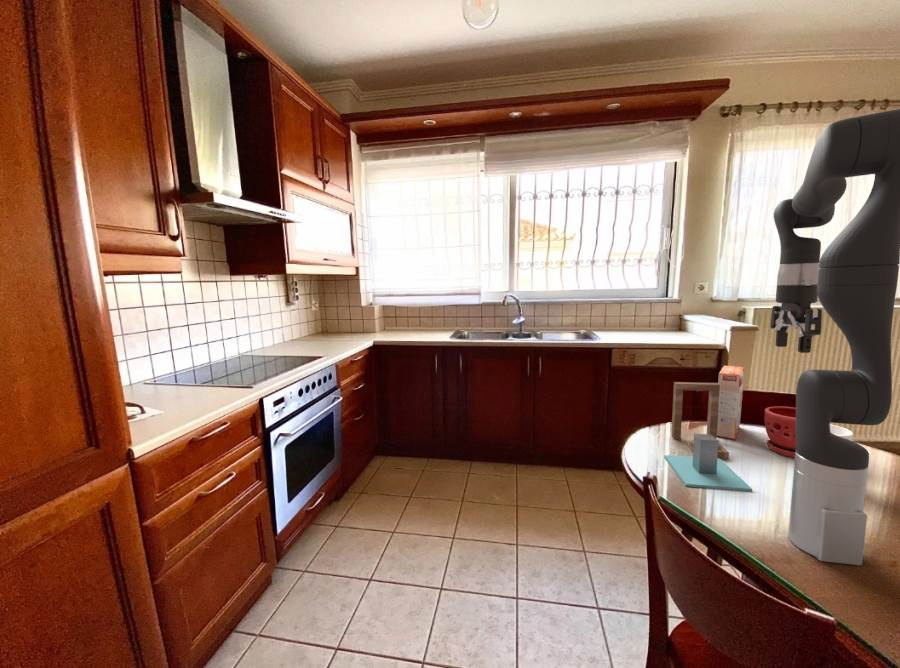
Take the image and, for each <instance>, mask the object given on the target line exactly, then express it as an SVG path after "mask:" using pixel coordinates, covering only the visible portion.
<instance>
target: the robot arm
mask: <svg viewBox="0 0 900 668" xmlns="http://www.w3.org/2000/svg"><path fill="white" fill-rule="evenodd" d="M869 175H874V181H873V184H872V188H871V191H870V192H869V195H868V197H867V199H866V201H865V203H863V205H862V207H861V208H860V210H859V211H858V212H857V214H856V215H855V216H854V217H853V218H852V220H851V221H850V222H849V223H848V224H847V225H846V226H845V227H844V228H843V229H842V230H841V232H839V233H838V235H837V236H836V237H834V239H833V241H831V242H830V243H829V245H828V246H827V248H825V250H824V251H823V253H822V255H821V250H822V243H821V240H820V239H818V238H814V237H807V236H806V237H805V236H800V235H798V234H797V233H795V229H797V230H798V229H808V228H809V229H810V228H818V227H822V226H825V225H827V224H829V223H830V222H831V221H833V220H832V219H833V218H834V215H835V209H836V207H835V206H836V204H837V202H839V200H840V199H841V198H842V197H843V195H844V194H845V193H846V191H847V184H848V183H847V179H846V178H854V177H861V176H869ZM773 220H774V221H773V222H774V224H775V227H776V230H777V234H778V239H779V241H780V243H779V245H780V258H779V268H778V271H777V276H776V278H777V279H776V293H775V302H776V303H777V304H781V305H773V306H772V309H771V318H770V325H769V326H770V328H771V329H772V330H773V329H774V332H775V333H776V334H775V344H774V345H775V347H779V348H786V347H787V346H788V336H789V330H790V328H791V327H793V328H794V329H795V330H796V331H797V333H798V343H797V352H798V353H801V354H802V353H803V354H809V353H811V351H812V341H813V338H814V337H815V336H820V335H821V333H822V315H823V314H822V313H823V312H822V311H823V310H822V309H821V308H812V304H815V303H817V302H818V300H819V302H820V304H821V306H822V308H823V309H824V311H826V313H827V314H828V316H829V317H830V319H832V321H833V322H834V323H835V325H836V326H837V328H839V329H840V331H841V332H842V334H843V335H844V336H845V339H846V341H847V343H848V346H849V349H850V355H851V370H839V369H838V370H835V369H832V370H831V369H808V370H805V371H803V372H802V373H801V374H800V376H799V377H798V380H797V383H796V388H795V389H796V390H795V391H796V392H795V408H796V424H795V435H796V453H795V458H794V465H793V475H792V487H791V488H792V489H791V499H790V509H789V511H790V512H789V524H788V539H789V540H790V542H792V544H794V545H795V546H796V547H797V548H798V549H800V550H802V551H804V552H805V553H807V554H809V555H812V556H814V557H815V558H816V559H817V560H819V562H826V563H835V564H842V565H843V564H844V565H845V564H846V565H853V566H862V565H863V558H864V557H863V556H864V548H865V539H866V530H867V522H868V515H867V513H865V512H864V509H865V508H864V505H865V497H866V490H867V489H866V488H867V481H868V470H869V463H870V454H869V451H868V449H867V448H866V447H864V446H863V445H861V444H859V443H858V442H855V441H850V440H848V439H845V438H842V437H839V436H837V435H834V434H832V433H830V424H834V423H835V424H845V425H859V426H878V425H880V424H882V423H883V422H885V420H886V419H887V417H888V416H889V413H890V410H891V408H892V397H893V387H892V386H893V379H892V375H893V374H892V373H893V372H892V330H893V329H892V328H893V319H894V309H895V300H896V294H897V287H898V281H899V280H898V279H899V272H900V108H898V109H893V110H887V111H882V112H881V111H880V112H875V113H870V114H864V115H860V116H853V117H850V118H845V119H841V120H837V121H834V122H832V123H831V124H828V125H827V126H826V127H825V128H824V129H823V130H822V132H821V133H820V135H819V136H818V138H817V139H816V142H815V145H814V147H813V150H812V153H811V155H810V159H809V163H808V165H807V168H806V171H805V176H804V180H803V182H802V184H801V186H800V187H799V189H798V190H797V192H796V193H795V195H794V196H793V198H788V199H784V200H782V201H780V202H779V203H778V204H777V206H775V208H774V211H773ZM813 327H814V328H813Z"/></svg>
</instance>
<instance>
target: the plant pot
mask: <svg viewBox="0 0 900 668" xmlns="http://www.w3.org/2000/svg"><path fill="white" fill-rule="evenodd" d="M763 420H764V427H765V432H766V435H767V436H768V440H767V441H766V443H767V446H768V448H769V449H770V450H772V451H774V453H778V454H780V455H783V456H786V457H789V458H794V459H795V453H796V435H795V424H796V407H791V406H770V407H766V408H765V409H764V419H763Z"/></svg>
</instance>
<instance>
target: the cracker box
mask: <svg viewBox="0 0 900 668" xmlns="http://www.w3.org/2000/svg"><path fill="white" fill-rule="evenodd" d="M744 377H745V367H742V366H733V365H723V367H722V368H721V370H720V371H719V373H718V382H717V383H718V384H720V391H719V408H718V425H717V437H719V438H726V439H729V440H735V441H736V439H737V436H738V433H739V430H740V423H741V415H742V414H741V413H742V406H743V405H742V402H743V393H744V391H743V390H744V379H745V378H744Z"/></svg>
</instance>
